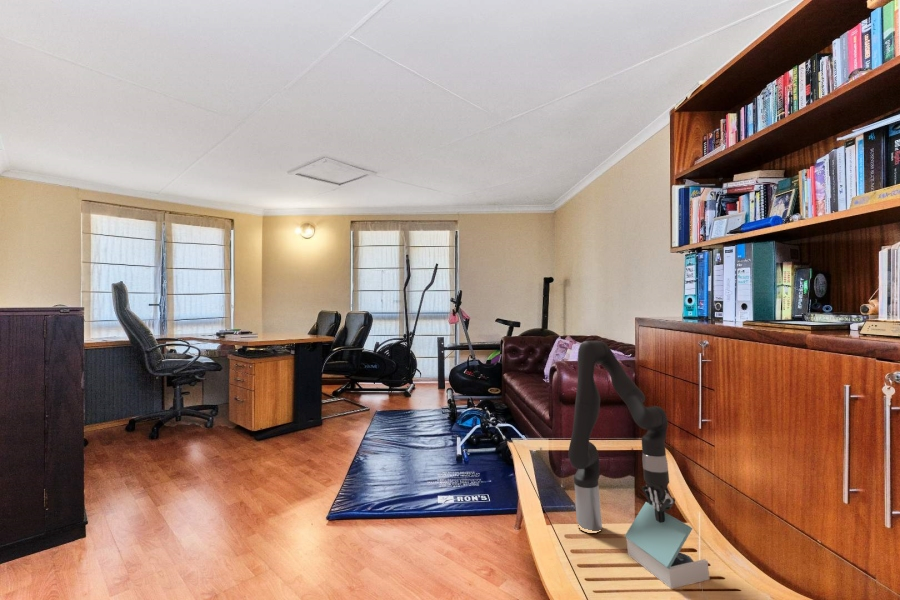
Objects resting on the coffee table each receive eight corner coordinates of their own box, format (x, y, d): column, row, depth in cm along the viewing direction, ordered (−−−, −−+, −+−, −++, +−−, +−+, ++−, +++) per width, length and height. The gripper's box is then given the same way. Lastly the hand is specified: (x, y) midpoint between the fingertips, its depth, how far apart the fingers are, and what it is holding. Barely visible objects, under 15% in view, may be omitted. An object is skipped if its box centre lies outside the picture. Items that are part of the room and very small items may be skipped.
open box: (628, 554, 138) (626, 538, 138) (662, 547, 141) (660, 531, 141) (671, 588, 119) (669, 569, 119) (709, 579, 122) (707, 560, 122)
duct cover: (626, 537, 138) (624, 536, 138) (647, 503, 141) (645, 501, 141) (669, 569, 119) (666, 567, 119) (692, 528, 122) (690, 526, 122)
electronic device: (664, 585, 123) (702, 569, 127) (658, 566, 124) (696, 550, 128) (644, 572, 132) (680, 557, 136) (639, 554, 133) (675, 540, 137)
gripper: (680, 472, 127) (685, 528, 125) (650, 460, 140) (655, 511, 138) (660, 475, 125) (665, 532, 123) (632, 462, 138) (636, 514, 136)
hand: (660, 521), depth 131 cm, fingers closed
